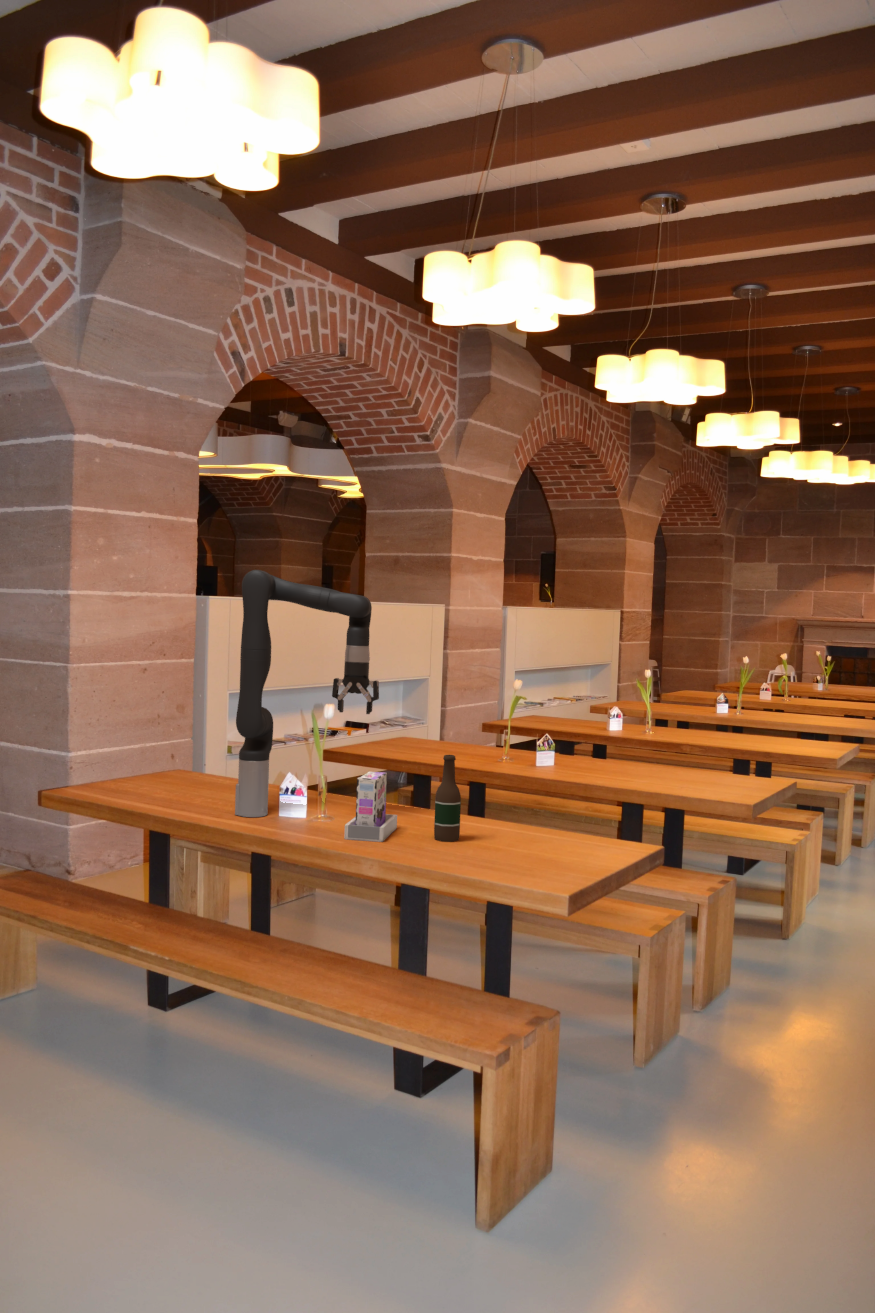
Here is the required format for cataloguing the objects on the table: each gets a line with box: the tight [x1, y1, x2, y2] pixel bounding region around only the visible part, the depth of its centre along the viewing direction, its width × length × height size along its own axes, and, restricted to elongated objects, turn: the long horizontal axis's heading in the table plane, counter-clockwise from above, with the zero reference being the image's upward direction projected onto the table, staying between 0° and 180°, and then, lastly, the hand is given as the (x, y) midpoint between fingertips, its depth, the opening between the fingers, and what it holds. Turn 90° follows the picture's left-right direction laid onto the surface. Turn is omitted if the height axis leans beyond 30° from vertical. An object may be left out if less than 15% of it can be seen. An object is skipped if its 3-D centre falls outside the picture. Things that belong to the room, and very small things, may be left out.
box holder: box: [343, 813, 398, 843], centre depth 286 cm, size 11×19×4 cm, turn 171°
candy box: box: [355, 771, 388, 827], centre depth 286 cm, size 14×6×16 cm, turn 170°
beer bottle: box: [433, 754, 462, 843], centre depth 282 cm, size 8×8×24 cm
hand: (354, 713), depth 304 cm, fingers open, 8 cm apart
